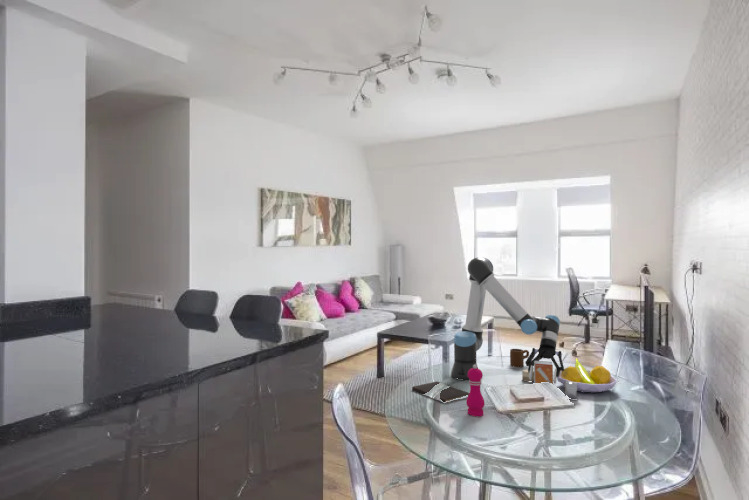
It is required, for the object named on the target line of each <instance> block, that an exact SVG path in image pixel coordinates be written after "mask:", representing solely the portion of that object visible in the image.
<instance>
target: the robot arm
mask: <svg viewBox="0 0 749 500" xmlns="http://www.w3.org/2000/svg"><path fill="white" fill-rule="evenodd" d="M467 272H468V274H469V279H468V280H469V282H470V283H471V284H470V290H469V298H468V302H467V310H466V316H465V324H464V325H462V327H461V331H458V332H456V333H455V334H454V336H453V337H454V338H453V348H454V349H453V350H454V351H453V352H454V355H453V358H454V362H453V365H452V368H451V370H450V371H451V372H450V376H451V378H453V379H454V378H458V379H463V380H462V381H465V380H470V379H469V377H468V371H469V370H470V369H471V368H473V365H474V364H476V365H477V368H478V369H479V367H478V364H477V351H479V350H480V349H481V347H482V345H483V341H484V340H483V333H484V331H483V328H482V326H481V325H482V321H483V314H484V306H485V300H486V293H487V292H488V293H489V294H490V295H491V296H492V297H493V298H494V300H495V301H496V302H497V303H498V304H499V305H500V306H501V307H502V308H503V309H504V311H505V312H506V313H507V314H508V315H509V317H511V318H512V319H513V321H514V322H515V323H516V324H517V325H518V327H519V328H520V330H521V332H522V333H524V334H525V335H529V336H531V335H534V334H535V333H536V332H540V333H541V338H540V344H539V348H537V349H536V348H535V347H532V350H531V353H529V356H528V357H527V358H526V359H525V360H526V361H524V363H525V365H526V367H527V369H528V372H529V379H530V380H531V379H532V374H533V370H534V361H541V360H542V359H547V360H551V362H552V364H553V365H554V367H555V368H554V370H553V385H554V384H557V377H559V374H560V371H564V369H565V367H564V362H563V359H562V357H563V353H562V351H561V350H558V351H556V350H557V349H556V348H557V343H558V336H559V331H560V325H561V323H560V322H561V320H560V318H559V316H556V315H554V314H547V315H546V316H545V317H539V316H535V315H530V314H529V313H528V312H527V311H526V310H525V308H524V307H523V306H522V305H521V304H520V303H519V302H518V301H517V300H516V299H515V297H513V295H512V294H511V293H510V292H509V291H508V290H507V289H506V288H505V287H504V286H503V285H502V283H500V281H499V280H498V279H497V278H496V277H495V273H494V265H493V262H491V260H490V259H488V258H486V257H474V258H473V259H471V260H470V261H469V262H468V265H467ZM536 354H537V355H536ZM555 355H556V357H558V361H559V364H558V363H557V361H556V359H555V357H554V356H555ZM458 379H457V380H458Z"/></svg>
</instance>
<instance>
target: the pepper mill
mask: <svg viewBox="0 0 749 500" xmlns="http://www.w3.org/2000/svg"><path fill="white" fill-rule="evenodd" d="M477 366H478V364H477V365H476V364H474V365H473V368H471V369H470V370H469V371H468V377H469V379H470V380H469V382H468V384H469V385H470V387H469V392H468V393H469V395H468V397H467V398H466V403H465V404H466V405H467V407H468V408H467V415H469V414H470V415H469V416H471V415H472V417H476V416H478V417H482V416H484V409H483V408H484V407H485V399H484V396H483V394H482V392H481V385H482V384H483V383H482V379H483V372H482V370H481V369H480V368H479V367H478V368H477Z"/></svg>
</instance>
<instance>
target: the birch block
mask: <svg viewBox="0 0 749 500" xmlns="http://www.w3.org/2000/svg"><path fill="white" fill-rule="evenodd" d="M521 375H522V376H521V377H522V381H524V380H526V381H525V382H528V381H534V369H533V374H532V379H531V380H530V379H529V372H528V368H527V369H523V370H522V372H521Z"/></svg>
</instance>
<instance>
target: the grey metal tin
mask: <svg viewBox="0 0 749 500" xmlns="http://www.w3.org/2000/svg"><path fill="white" fill-rule="evenodd" d="M565 394H566V395H567V396H568V397H569V398H571V399H577V400H578V390H577V383H575V382H571V381H566V382H565V385H564V395H565Z"/></svg>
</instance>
